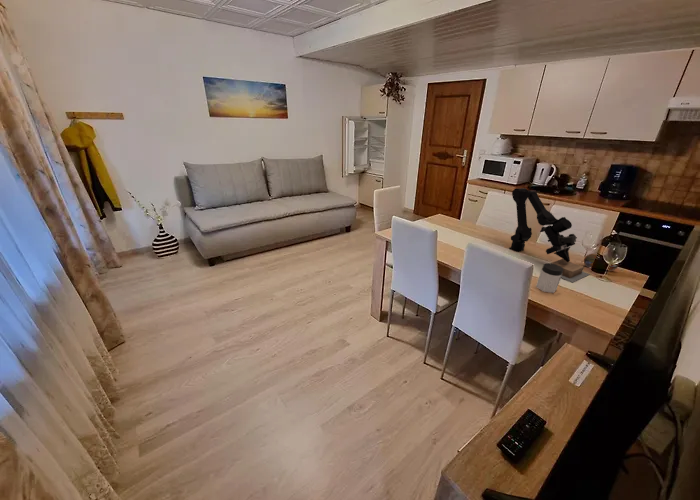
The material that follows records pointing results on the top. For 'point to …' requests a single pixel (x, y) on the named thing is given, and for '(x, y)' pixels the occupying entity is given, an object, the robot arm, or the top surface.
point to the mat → (575, 277)
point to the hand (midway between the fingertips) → (568, 261)
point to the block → (569, 268)
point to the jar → (549, 277)
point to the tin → (590, 259)
